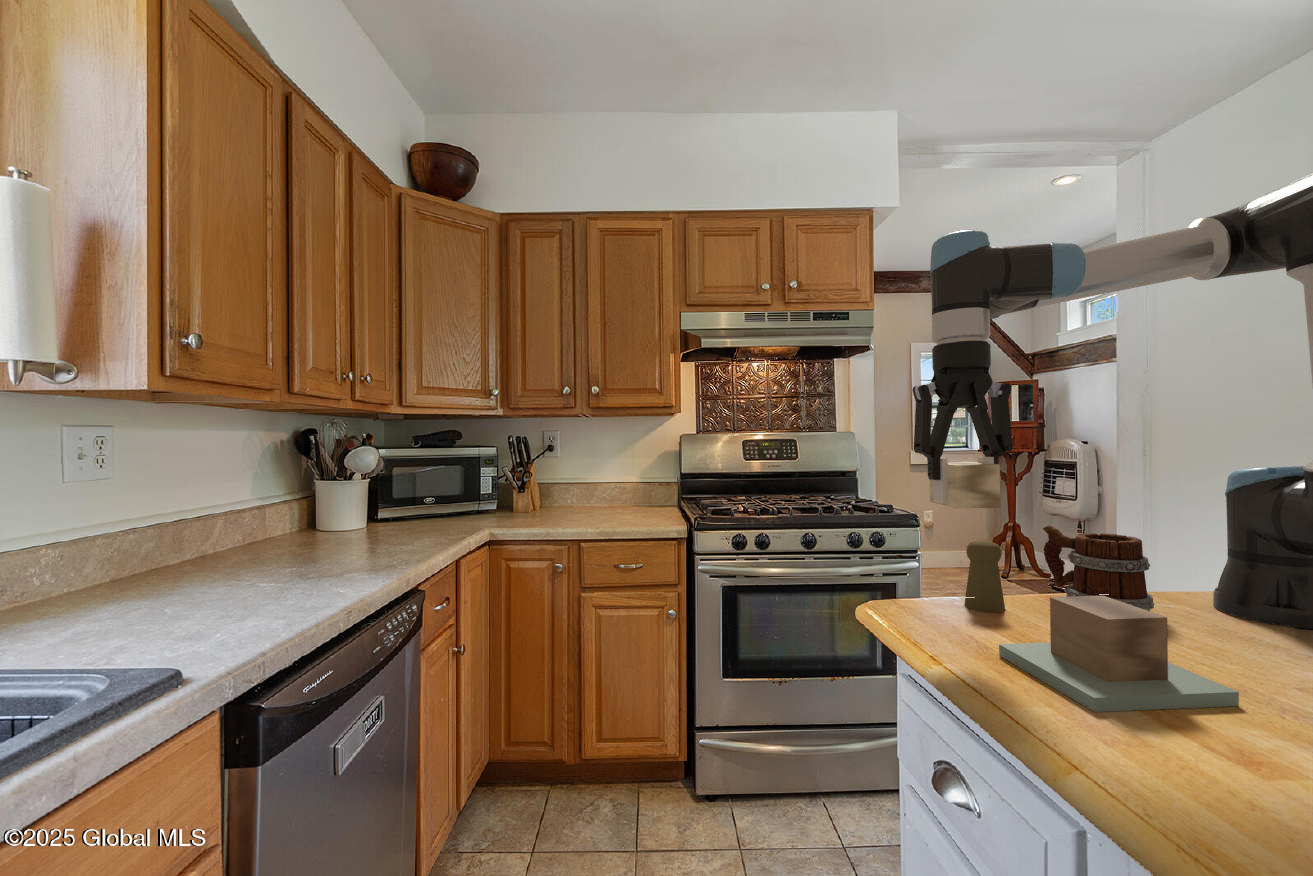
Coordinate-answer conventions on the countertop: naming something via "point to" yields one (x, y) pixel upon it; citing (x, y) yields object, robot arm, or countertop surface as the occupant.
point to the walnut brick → (1109, 638)
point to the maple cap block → (972, 485)
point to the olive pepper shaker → (984, 577)
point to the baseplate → (1118, 684)
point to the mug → (1100, 566)
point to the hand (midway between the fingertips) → (963, 501)
